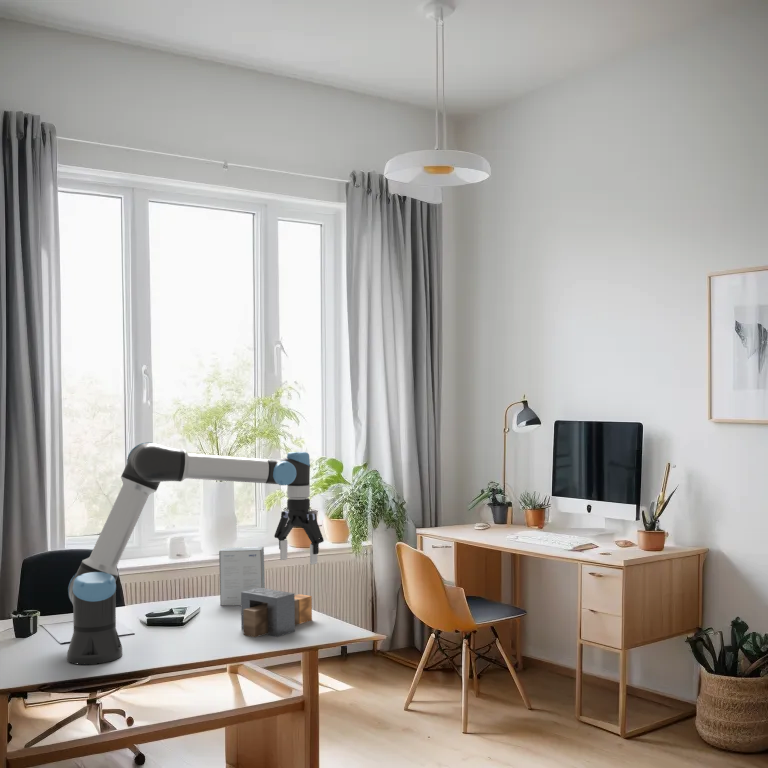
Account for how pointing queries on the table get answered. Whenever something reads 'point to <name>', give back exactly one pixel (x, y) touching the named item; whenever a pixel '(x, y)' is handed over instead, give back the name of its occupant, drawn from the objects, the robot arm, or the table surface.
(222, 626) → the table surface
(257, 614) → the bar
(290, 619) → the socket housing
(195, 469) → the robot arm
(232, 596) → the hard drive box
